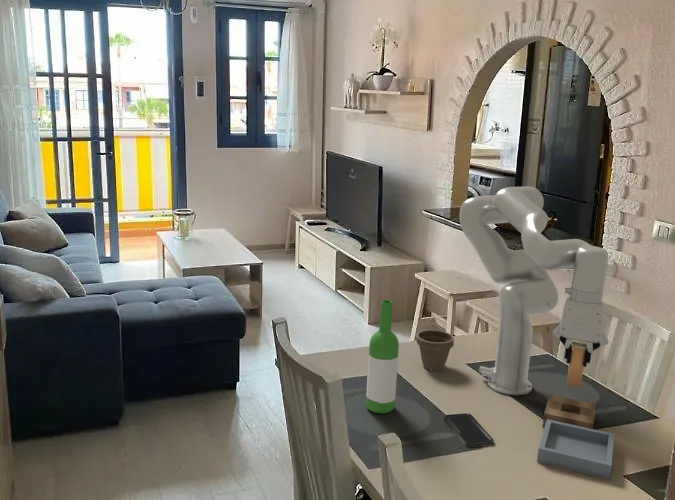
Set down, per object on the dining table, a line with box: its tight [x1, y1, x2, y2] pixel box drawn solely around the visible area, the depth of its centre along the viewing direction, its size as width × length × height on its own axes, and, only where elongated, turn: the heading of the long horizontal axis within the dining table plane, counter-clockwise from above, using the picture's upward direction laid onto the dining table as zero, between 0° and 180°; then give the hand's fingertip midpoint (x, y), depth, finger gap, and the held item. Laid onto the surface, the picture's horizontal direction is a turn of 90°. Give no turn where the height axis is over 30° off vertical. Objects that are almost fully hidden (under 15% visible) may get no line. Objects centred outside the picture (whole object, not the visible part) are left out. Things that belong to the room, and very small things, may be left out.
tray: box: [536, 419, 615, 480], centre depth 165 cm, size 16×16×4 cm
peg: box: [566, 340, 588, 387], centre depth 177 cm, size 4×4×11 cm
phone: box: [443, 413, 495, 448], centre depth 174 cm, size 8×1×15 cm
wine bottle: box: [365, 299, 400, 414], centre depth 181 cm, size 8×8×30 cm
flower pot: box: [416, 329, 455, 371], centre depth 212 cm, size 12×11×10 cm
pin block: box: [542, 394, 597, 429], centre depth 181 cm, size 12×12×4 cm
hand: (576, 362), depth 177 cm, fingers closed on peg, 3 cm apart
